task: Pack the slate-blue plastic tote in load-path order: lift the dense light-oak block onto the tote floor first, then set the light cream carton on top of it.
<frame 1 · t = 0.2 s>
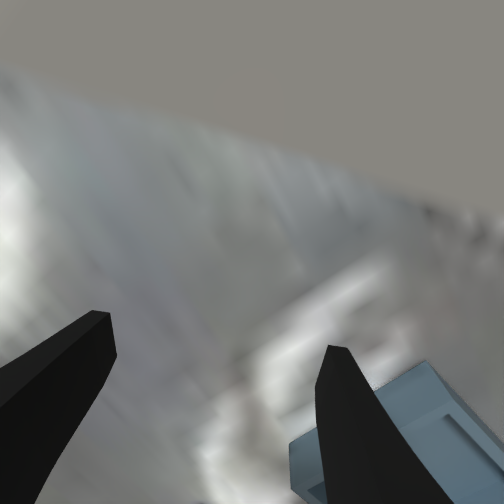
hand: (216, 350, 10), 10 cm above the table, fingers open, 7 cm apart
tote: (402, 453, 25), on the table
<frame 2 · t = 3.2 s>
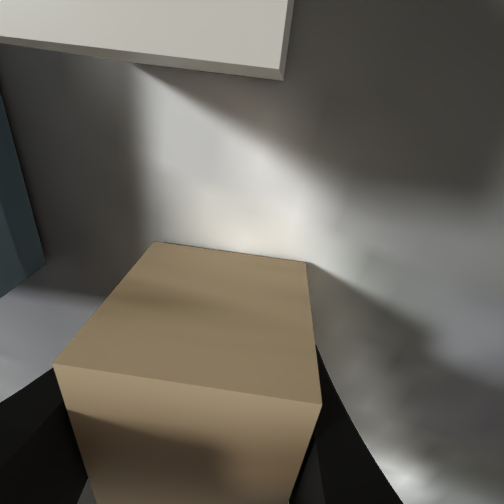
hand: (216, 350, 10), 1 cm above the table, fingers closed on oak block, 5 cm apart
oak block: (223, 321, 11), on the table, touching gripper
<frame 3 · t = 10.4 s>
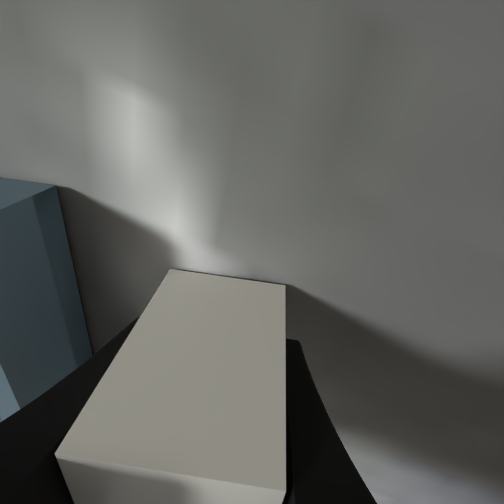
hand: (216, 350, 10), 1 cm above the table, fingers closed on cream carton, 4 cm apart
cream carton: (223, 321, 11), on the table, touching gripper
when the fingers open (9 cm above the table, at t = 13.5 s): cream carton drops 1 cm, resting on oak block.
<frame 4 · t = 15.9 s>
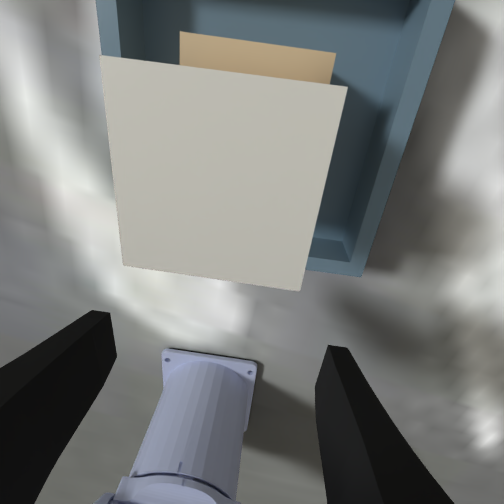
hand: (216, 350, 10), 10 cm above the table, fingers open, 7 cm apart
tote: (259, 124, 16), on the table
cream carton: (248, 141, 11), point 6 cm above the table, touching oak block
oak block: (257, 125, 15), point 1 cm above the table, touching cream carton, tote
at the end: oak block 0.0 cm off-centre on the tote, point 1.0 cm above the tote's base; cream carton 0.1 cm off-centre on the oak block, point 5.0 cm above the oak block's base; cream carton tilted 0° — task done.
